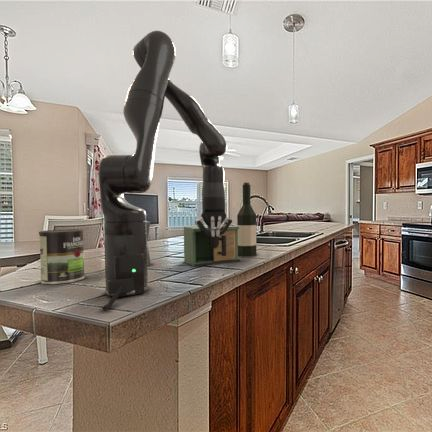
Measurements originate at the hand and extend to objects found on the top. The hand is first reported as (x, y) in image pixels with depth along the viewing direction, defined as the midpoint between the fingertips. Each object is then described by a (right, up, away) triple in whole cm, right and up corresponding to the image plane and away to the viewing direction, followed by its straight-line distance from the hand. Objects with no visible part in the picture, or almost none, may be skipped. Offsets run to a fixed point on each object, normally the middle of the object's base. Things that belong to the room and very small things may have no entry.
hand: (214, 247), depth 109 cm
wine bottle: (+8, -6, +26) cm, 28 cm away
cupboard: (-4, -6, +11) cm, 13 cm away
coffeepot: (-28, -7, +4) cm, 29 cm away
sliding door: (+3, -5, +5) cm, 8 cm away
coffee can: (-39, -8, -17) cm, 43 cm away
